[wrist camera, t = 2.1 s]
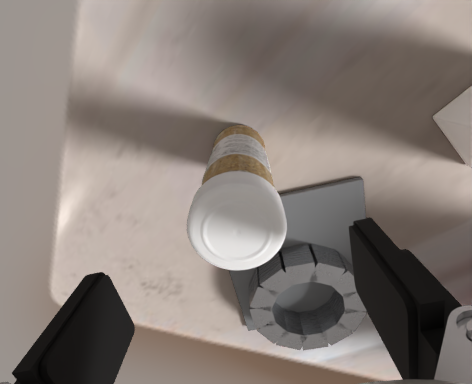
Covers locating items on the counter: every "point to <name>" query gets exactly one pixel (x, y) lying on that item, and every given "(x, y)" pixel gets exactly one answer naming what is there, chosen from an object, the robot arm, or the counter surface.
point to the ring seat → (313, 321)
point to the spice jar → (237, 204)
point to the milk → (458, 124)
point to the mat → (311, 239)
